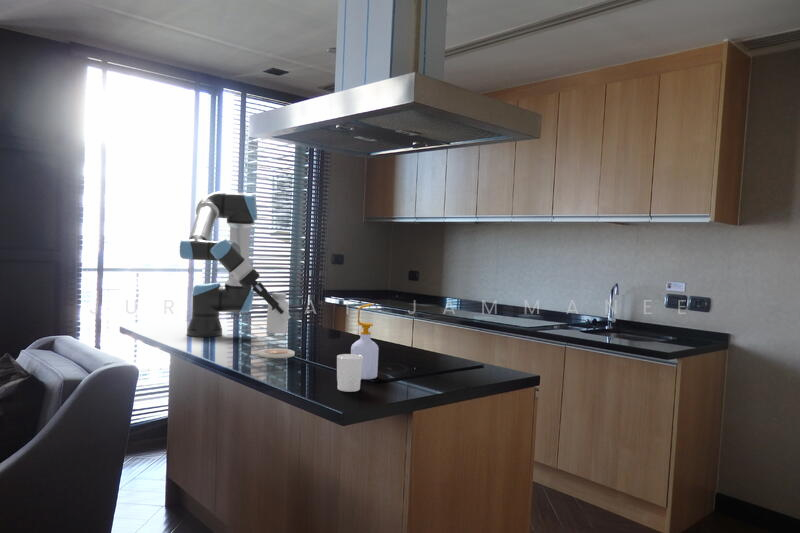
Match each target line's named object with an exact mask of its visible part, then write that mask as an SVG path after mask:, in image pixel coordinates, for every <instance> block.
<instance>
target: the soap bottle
mask: <svg viewBox="0 0 800 533" xmlns="http://www.w3.org/2000/svg"><path fill="white" fill-rule="evenodd" d="M372 305H373V303H372V302H371V303H370V302H369V303H367V304H362V305H360V306H359V307H358V309H357V313H358V314H357V324H358V325H359V326H361V328H362V329H363V330H362V331H361V332H360V338H359V339H358V340H356V341H355V342H354V343H352V344H351V347H350V354H355V355H361V356H363V365H362V375H361V380H373V379H376V378H377V377H378V367H379V350H380V349H379V345H378V344H377V343H376V342H375V341H373V340H372V339H371V336H372V335H371V331H369V329H370V328H371V327H374V323H373V322H361V321H360V311H361V309H363V308H367V307H371V306H372Z"/></svg>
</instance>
